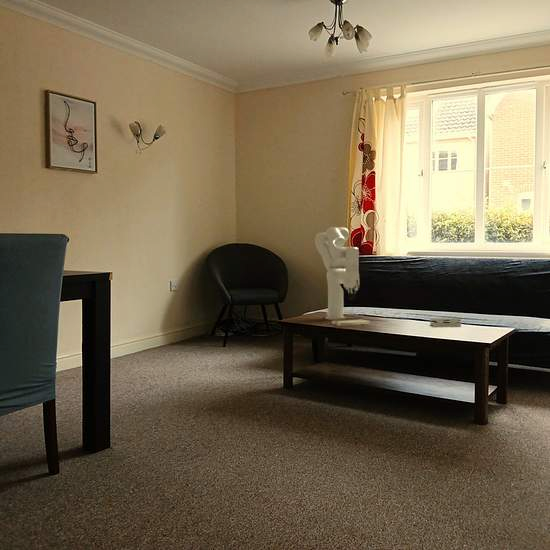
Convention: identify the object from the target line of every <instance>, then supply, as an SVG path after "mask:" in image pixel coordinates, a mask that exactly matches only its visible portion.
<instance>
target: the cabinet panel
mask: <svg viewBox="0 0 550 550" xmlns="http://www.w3.org/2000/svg"><path fill="white" fill-rule="evenodd" d="M331 322H332V325H334V326H337V327H339V326H340V327H347V326H348V327H349V326H350V325H351V326H361V324H364V325H371V324H372V323H371V320H366V319H362V316H356V317H355V316H353V317H352V316H351V317H346V318H333V319H332V320H331ZM351 326H350V327H351Z"/></svg>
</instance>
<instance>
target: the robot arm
mask: <svg viewBox="0 0 550 550" xmlns="http://www.w3.org/2000/svg"><path fill="white" fill-rule="evenodd" d="M349 237H350V232H349V230H348V228H346V227H344V226H343V227H341V226H332V227H329V228H327V229H326V231H325V232H318V233H316V235H315V237H314V243H315V247H316V250H317V251H318V254H319V255H320V256H321V259H322V261H323V264H324V266H325V268H326V270H327V272H326V280H327V312H326V313H325V314H326V315H327V316H325V319H326V320H331V321H332V319H333V318H347V317H346V316H344V289H345V290H347V293H348V301H355V299H356V292H357V291H358V290H359V288H360V273H359V272H360V271H359V265H360V264H359V259H360V258H359V252H360V251H359V247H357V246H345V244H346V242H347V241H348V239H349ZM342 284H343V287H344V289H343V288H342V286H341V285H342Z"/></svg>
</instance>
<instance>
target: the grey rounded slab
mask: <svg viewBox="0 0 550 550" xmlns="http://www.w3.org/2000/svg"><path fill="white" fill-rule="evenodd" d="M429 321H430V323H429V324H430V325H429V326H432V327H433V326H434V328H441V327H442V328H447V327H448V328H453V327H454V328H457V327H458V328H459V327H460V326H462V322H461V321H462V319H461V317H459V318H457V317H456V318H450V317H449V318H448V317H447V318H430V319H429ZM460 328H461V327H460Z"/></svg>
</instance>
